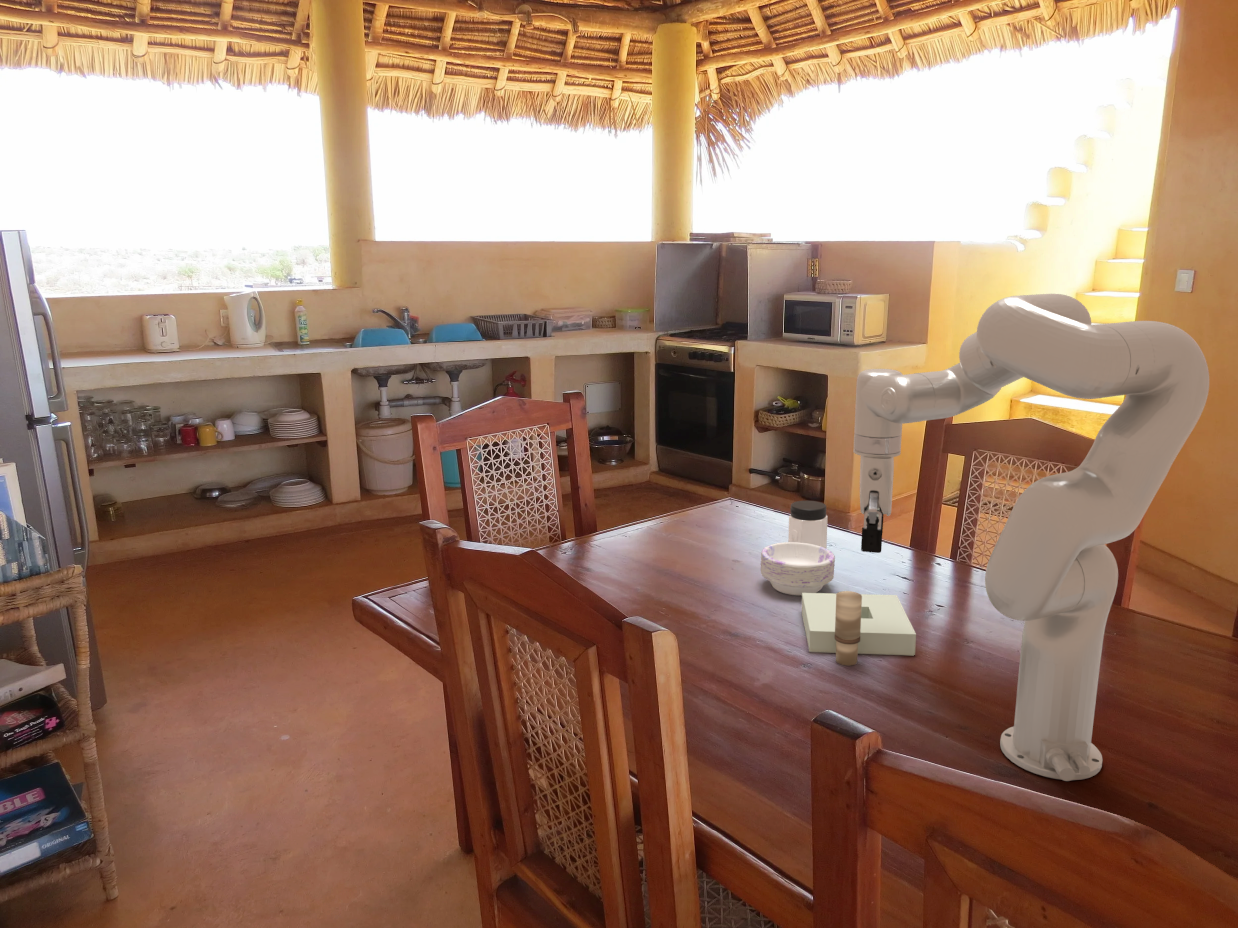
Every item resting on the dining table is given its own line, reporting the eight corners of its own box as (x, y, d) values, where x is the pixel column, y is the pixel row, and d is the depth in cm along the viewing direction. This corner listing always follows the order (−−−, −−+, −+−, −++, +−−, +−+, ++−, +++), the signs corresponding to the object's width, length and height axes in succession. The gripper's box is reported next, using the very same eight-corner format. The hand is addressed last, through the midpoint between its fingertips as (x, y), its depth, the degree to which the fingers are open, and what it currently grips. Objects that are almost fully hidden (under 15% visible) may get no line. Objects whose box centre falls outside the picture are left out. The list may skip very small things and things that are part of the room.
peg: (861, 666, 145) (863, 600, 142) (835, 665, 145) (837, 600, 142) (857, 655, 149) (860, 591, 146) (832, 654, 149) (834, 590, 147)
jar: (781, 551, 203) (782, 503, 201) (807, 545, 207) (809, 498, 204) (806, 562, 196) (807, 512, 193) (833, 556, 199) (835, 506, 197)
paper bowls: (848, 594, 176) (850, 558, 175) (785, 606, 171) (786, 569, 169) (806, 571, 190) (807, 537, 188) (747, 581, 185) (747, 546, 183)
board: (914, 655, 148) (916, 634, 147) (809, 651, 151) (810, 630, 150) (895, 614, 166) (896, 595, 165) (801, 611, 168) (802, 592, 167)
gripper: (901, 457, 132) (894, 561, 136) (901, 435, 148) (895, 528, 152) (850, 454, 134) (846, 557, 138) (856, 433, 150) (851, 525, 154)
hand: (872, 542), depth 145 cm, fingers open, 9 cm apart
